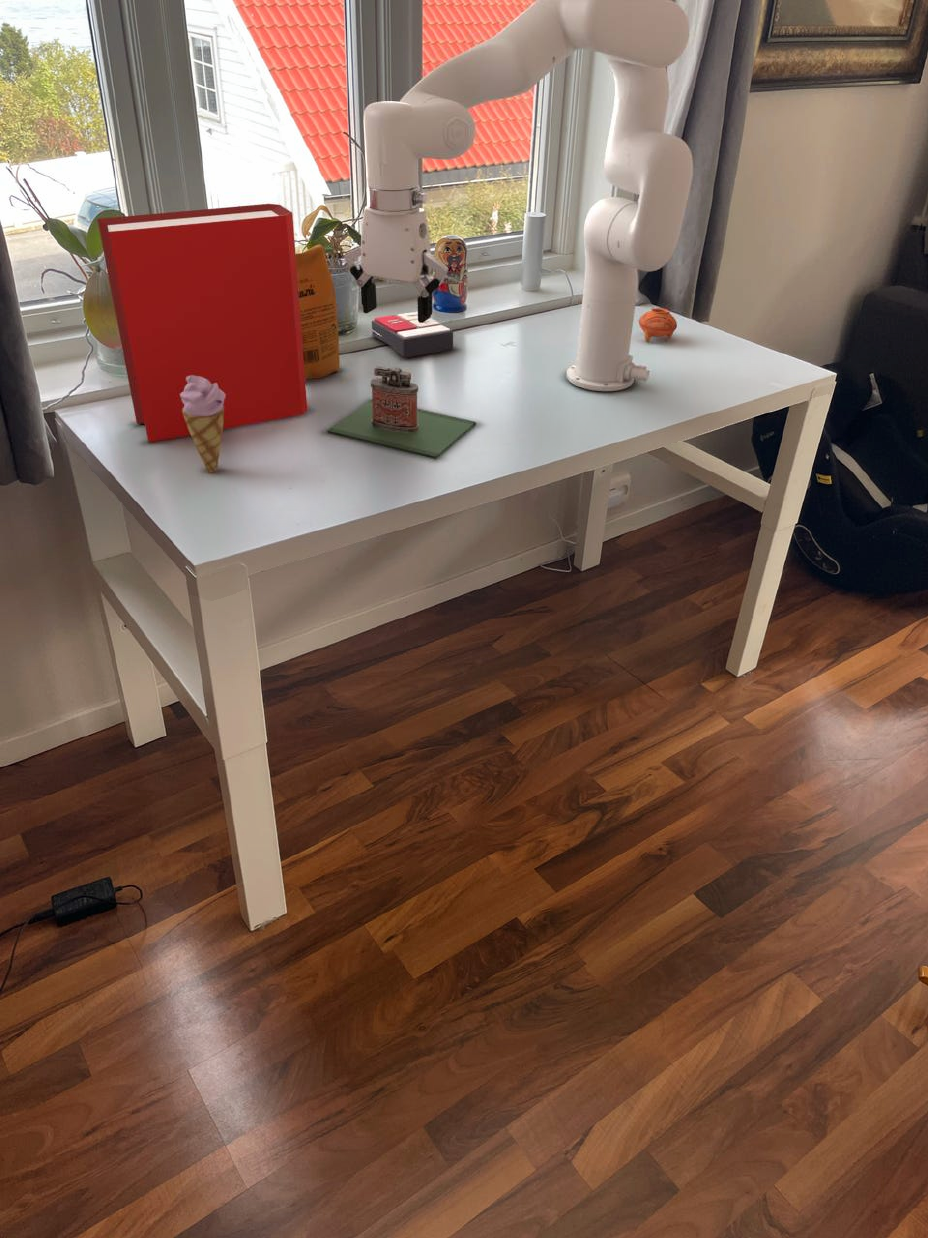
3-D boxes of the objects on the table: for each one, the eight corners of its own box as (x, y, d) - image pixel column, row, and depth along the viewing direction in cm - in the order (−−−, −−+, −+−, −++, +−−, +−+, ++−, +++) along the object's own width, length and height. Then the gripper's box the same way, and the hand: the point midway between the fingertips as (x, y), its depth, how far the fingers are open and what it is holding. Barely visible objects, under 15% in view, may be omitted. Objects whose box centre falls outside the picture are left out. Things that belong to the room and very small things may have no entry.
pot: (627, 332, 197) (637, 300, 193) (658, 338, 200) (669, 307, 196) (644, 344, 190) (655, 311, 187) (676, 350, 193) (688, 317, 190)
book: (148, 442, 149) (108, 231, 131) (136, 423, 155) (97, 218, 136) (310, 413, 160) (294, 214, 141) (293, 396, 166) (277, 202, 147)
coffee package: (261, 370, 175) (248, 248, 162) (318, 356, 182) (310, 237, 169) (289, 387, 169) (278, 261, 156) (346, 372, 176) (341, 250, 163)
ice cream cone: (195, 460, 145) (181, 366, 136) (236, 459, 145) (224, 366, 137) (189, 480, 140) (173, 383, 131) (231, 479, 140) (218, 383, 131)
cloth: (475, 423, 158) (476, 421, 158) (435, 458, 147) (435, 456, 147) (373, 400, 165) (373, 398, 165) (327, 432, 154) (327, 430, 154)
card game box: (418, 309, 195) (454, 327, 184) (419, 330, 197) (454, 349, 187) (370, 316, 190) (404, 335, 180) (371, 337, 193) (404, 357, 182)
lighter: (421, 426, 156) (421, 368, 150) (413, 434, 153) (413, 376, 148) (376, 418, 158) (375, 361, 152) (368, 426, 155) (366, 368, 150)
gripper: (457, 199, 137) (457, 316, 147) (354, 187, 142) (361, 300, 153) (434, 210, 131) (435, 331, 141) (328, 197, 137) (337, 314, 147)
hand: (396, 315), depth 147 cm, fingers open, 9 cm apart
